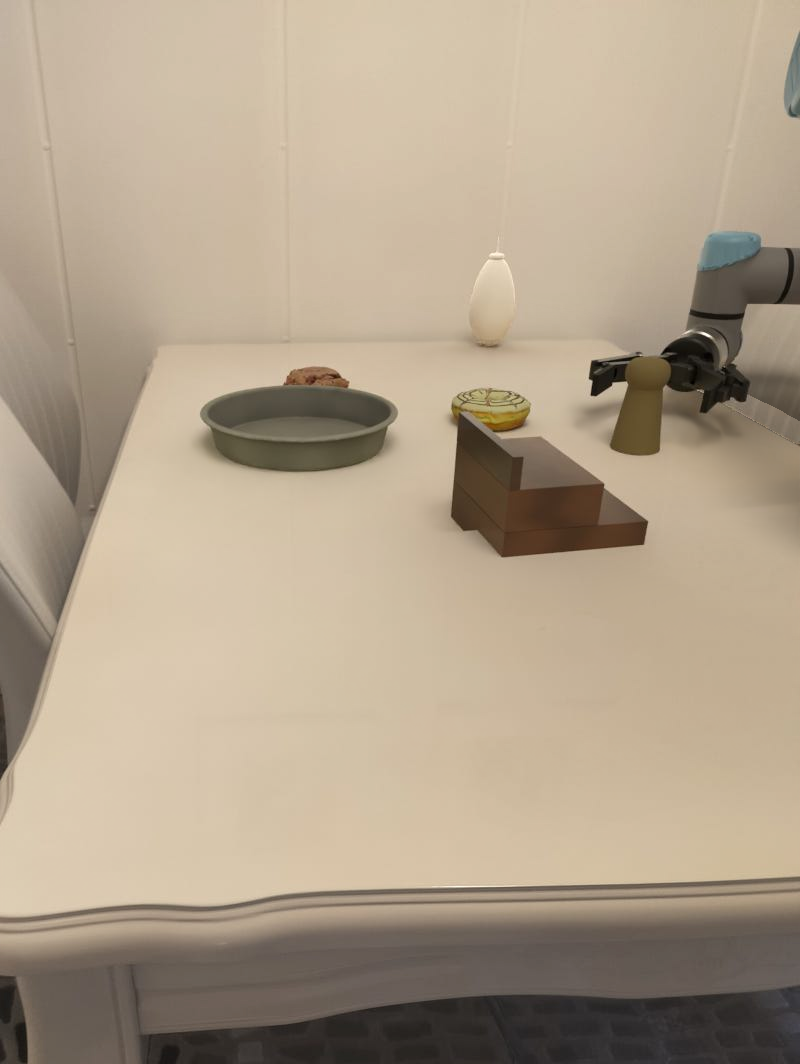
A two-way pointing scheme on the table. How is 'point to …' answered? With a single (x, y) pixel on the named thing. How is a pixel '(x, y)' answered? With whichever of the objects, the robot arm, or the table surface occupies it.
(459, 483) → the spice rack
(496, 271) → the sauce bottle
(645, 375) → the olive tall knobbed cone
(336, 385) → the cookie
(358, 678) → the table surface
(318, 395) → the cake pan
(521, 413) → the decorated donut
